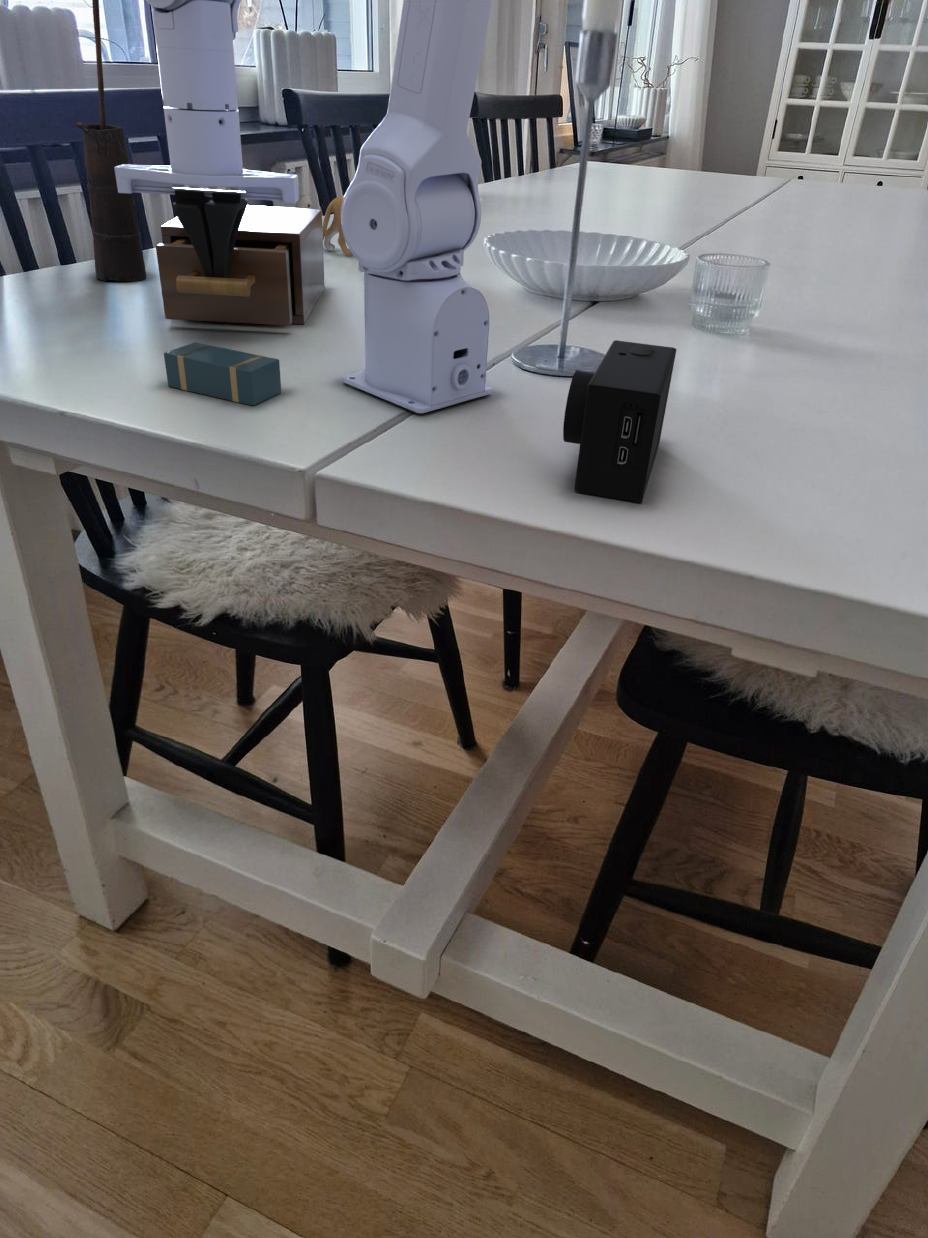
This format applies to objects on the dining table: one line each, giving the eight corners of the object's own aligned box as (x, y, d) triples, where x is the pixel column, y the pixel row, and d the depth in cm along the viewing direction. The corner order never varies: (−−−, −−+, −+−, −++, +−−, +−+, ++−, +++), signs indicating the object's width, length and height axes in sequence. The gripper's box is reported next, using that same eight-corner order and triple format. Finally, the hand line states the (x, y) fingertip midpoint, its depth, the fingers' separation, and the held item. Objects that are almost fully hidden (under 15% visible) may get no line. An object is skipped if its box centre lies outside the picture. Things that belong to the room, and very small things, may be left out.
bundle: (282, 392, 67) (279, 358, 65) (253, 406, 64) (250, 371, 62) (198, 374, 69) (194, 341, 68) (167, 386, 66) (162, 352, 65)
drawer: (282, 338, 76) (277, 262, 72) (150, 331, 75) (139, 254, 72) (312, 291, 91) (309, 226, 87) (202, 285, 90) (195, 220, 87)
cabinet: (304, 324, 83) (299, 233, 79) (172, 317, 83) (160, 225, 78) (324, 289, 95) (321, 209, 91) (209, 283, 95) (201, 202, 91)
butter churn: (89, 293, 89) (28, -50, 74) (55, 274, 95) (-9, -47, 79) (174, 283, 94) (133, -39, 79) (136, 266, 100) (91, -36, 85)
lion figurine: (420, 250, 117) (422, 175, 112) (427, 258, 112) (429, 181, 108) (310, 248, 114) (307, 172, 109) (313, 257, 109) (310, 177, 104)
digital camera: (583, 433, 63) (596, 335, 59) (659, 444, 62) (677, 345, 58) (555, 489, 54) (567, 379, 50) (641, 504, 53) (661, 392, 49)
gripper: (301, 111, 72) (308, 282, 79) (125, 100, 71) (149, 273, 79) (286, 116, 66) (296, 300, 73) (94, 104, 66) (123, 291, 73)
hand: (218, 288), depth 76 cm, fingers closed, pressing on drawer
